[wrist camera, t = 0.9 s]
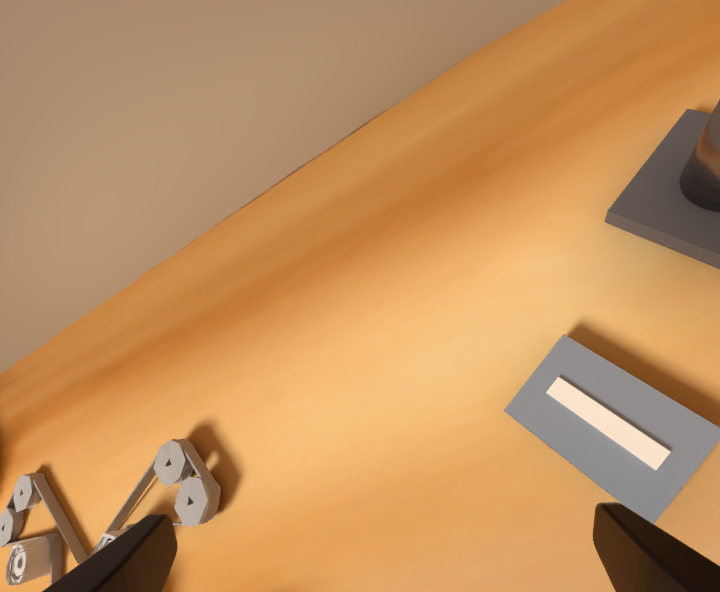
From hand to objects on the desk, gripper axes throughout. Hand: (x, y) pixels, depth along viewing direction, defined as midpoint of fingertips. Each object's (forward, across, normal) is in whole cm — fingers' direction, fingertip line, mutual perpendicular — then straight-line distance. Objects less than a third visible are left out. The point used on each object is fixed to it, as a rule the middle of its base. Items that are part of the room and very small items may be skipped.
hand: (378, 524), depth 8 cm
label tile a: (+10, -11, +4) cm, 15 cm away
